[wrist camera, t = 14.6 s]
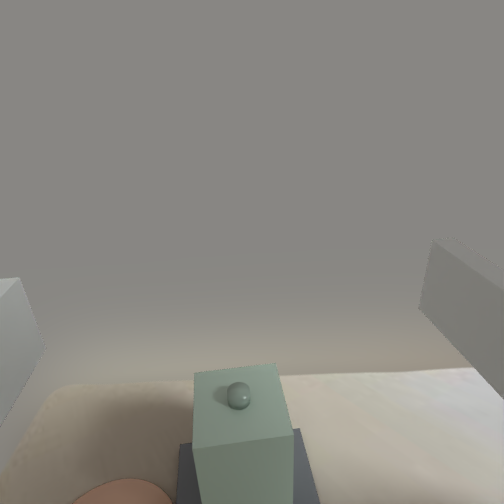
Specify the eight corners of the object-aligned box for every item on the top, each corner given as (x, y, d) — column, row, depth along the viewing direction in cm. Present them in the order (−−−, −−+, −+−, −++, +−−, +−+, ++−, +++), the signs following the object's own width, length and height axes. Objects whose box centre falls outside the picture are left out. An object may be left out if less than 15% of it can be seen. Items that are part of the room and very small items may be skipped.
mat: (299, 432, 43) (299, 428, 42) (327, 538, 33) (328, 533, 33) (180, 448, 41) (180, 444, 41) (173, 563, 32) (172, 559, 31)
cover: (276, 443, 41) (275, 353, 35) (292, 520, 34) (294, 424, 28) (206, 453, 40) (193, 363, 34) (207, 534, 33) (190, 438, 27)
